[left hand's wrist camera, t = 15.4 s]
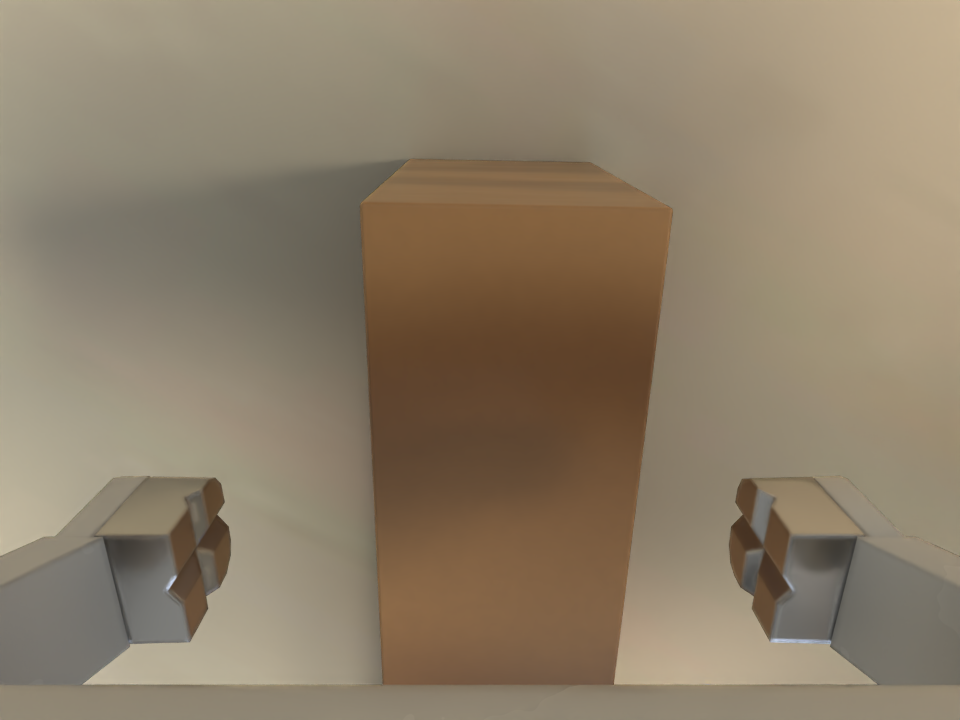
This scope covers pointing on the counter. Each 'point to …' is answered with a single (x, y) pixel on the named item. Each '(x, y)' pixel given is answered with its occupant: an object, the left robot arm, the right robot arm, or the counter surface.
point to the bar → (507, 413)
